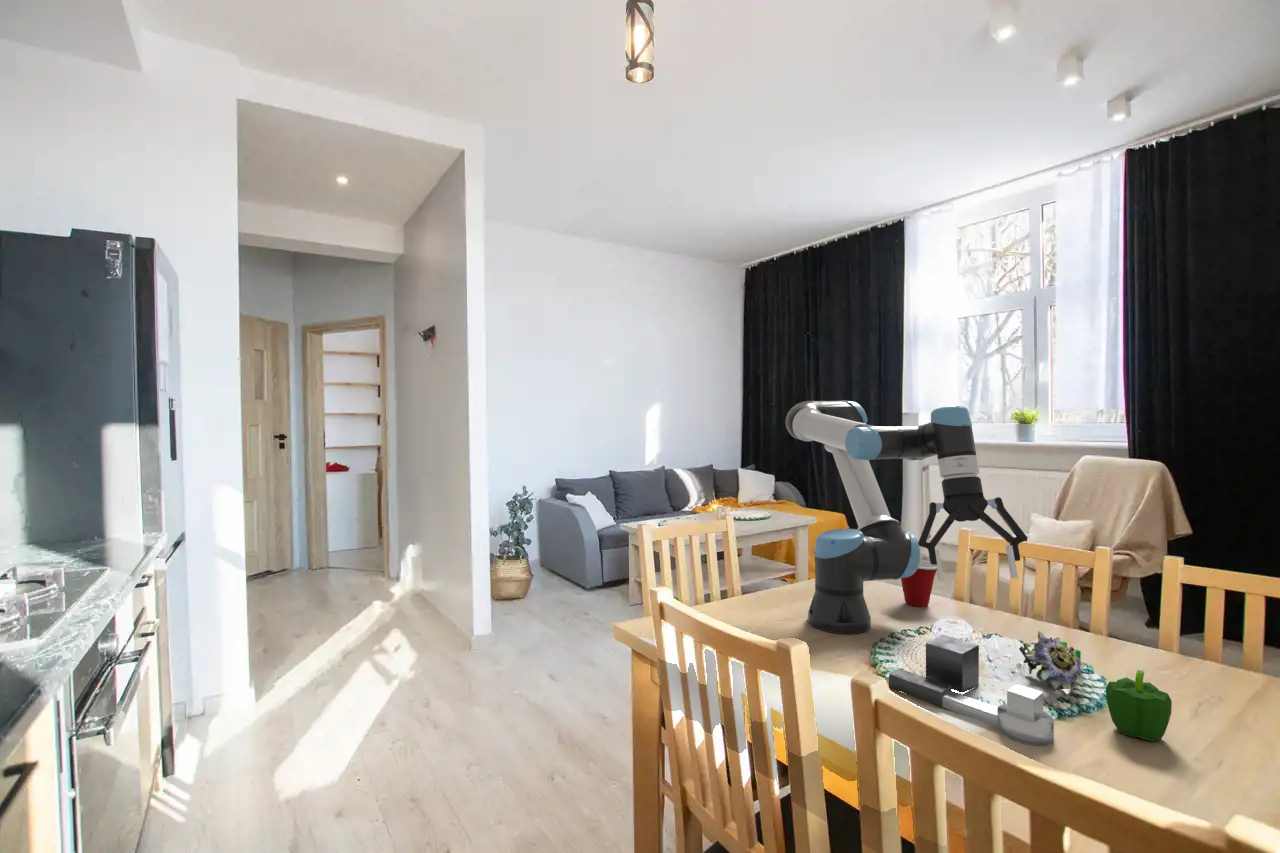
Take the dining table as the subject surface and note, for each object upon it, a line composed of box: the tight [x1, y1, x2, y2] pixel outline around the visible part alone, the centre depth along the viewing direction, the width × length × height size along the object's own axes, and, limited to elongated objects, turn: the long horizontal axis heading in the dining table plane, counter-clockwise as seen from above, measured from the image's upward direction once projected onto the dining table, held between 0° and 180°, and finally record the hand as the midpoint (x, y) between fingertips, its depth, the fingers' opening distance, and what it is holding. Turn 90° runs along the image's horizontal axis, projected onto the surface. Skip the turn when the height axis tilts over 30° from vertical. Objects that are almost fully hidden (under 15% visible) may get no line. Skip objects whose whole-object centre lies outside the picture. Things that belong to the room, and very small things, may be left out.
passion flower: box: [1018, 630, 1086, 691], centre depth 120 cm, size 11×11×12 cm
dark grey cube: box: [925, 634, 980, 692], centre depth 120 cm, size 7×7×8 cm
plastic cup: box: [900, 559, 937, 608], centre depth 169 cm, size 11×11×12 cm
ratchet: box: [884, 668, 1055, 747], centre depth 110 cm, size 28×8×7 cm, turn 38°
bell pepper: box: [1105, 669, 1173, 742], centre depth 101 cm, size 8×8×10 cm
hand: (977, 579), depth 127 cm, fingers open, 13 cm apart
